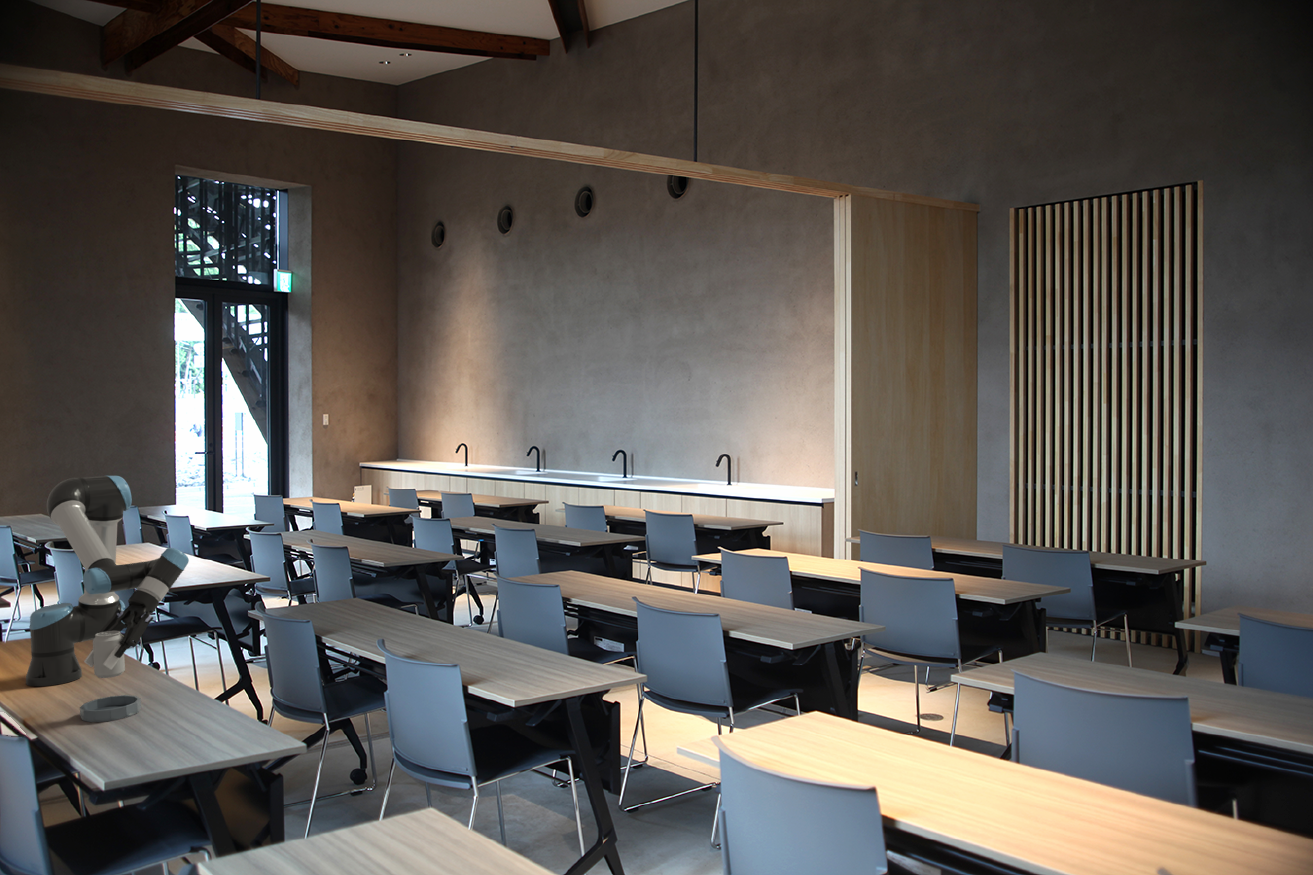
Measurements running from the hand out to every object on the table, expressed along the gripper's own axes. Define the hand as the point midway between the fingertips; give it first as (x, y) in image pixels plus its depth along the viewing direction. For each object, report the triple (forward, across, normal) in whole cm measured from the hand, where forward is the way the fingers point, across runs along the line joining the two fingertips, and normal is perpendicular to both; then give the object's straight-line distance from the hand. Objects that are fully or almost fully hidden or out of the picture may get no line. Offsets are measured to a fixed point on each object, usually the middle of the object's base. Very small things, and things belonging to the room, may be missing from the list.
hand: (97, 665), depth 273 cm
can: (0, 0, -5) cm, 5 cm away
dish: (+8, 0, -13) cm, 15 cm away
